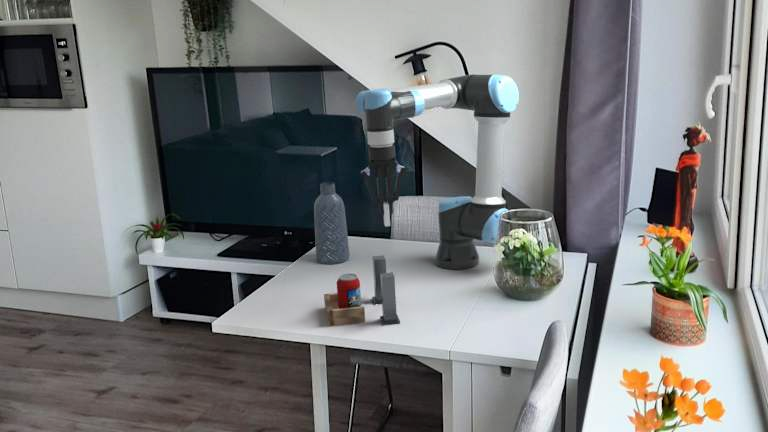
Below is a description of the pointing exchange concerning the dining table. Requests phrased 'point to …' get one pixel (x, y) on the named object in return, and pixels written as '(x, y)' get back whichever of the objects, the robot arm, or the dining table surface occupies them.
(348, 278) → the beverage can
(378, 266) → the post far
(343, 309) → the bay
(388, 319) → the post near
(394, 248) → the dining table surface
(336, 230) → the vase
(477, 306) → the dining table surface
